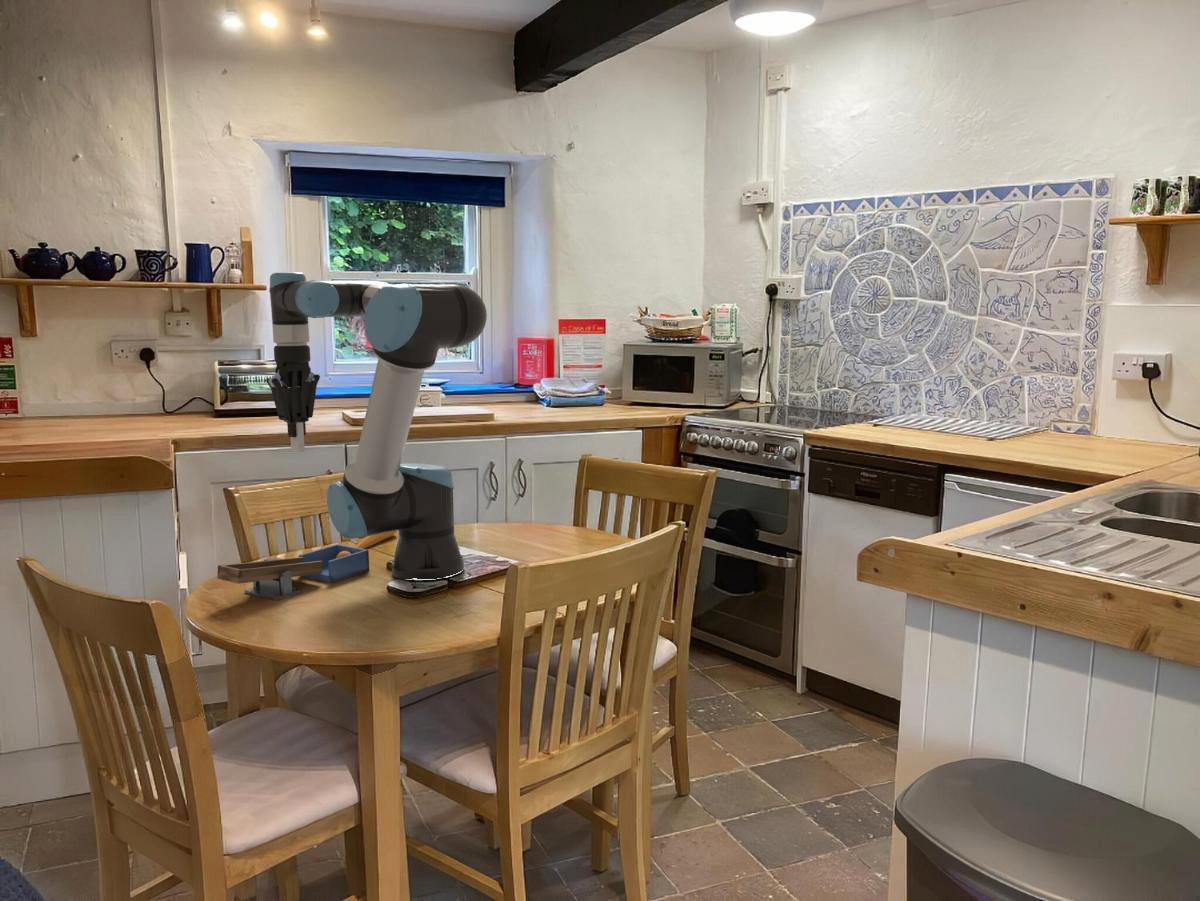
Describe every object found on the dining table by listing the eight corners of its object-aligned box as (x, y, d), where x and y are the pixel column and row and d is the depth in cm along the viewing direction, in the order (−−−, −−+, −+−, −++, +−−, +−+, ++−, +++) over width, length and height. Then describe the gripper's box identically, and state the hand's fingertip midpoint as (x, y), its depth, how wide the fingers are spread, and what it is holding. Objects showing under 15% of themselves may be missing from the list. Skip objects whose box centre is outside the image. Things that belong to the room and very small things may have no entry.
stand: (301, 592, 188) (299, 569, 187) (276, 600, 183) (274, 576, 182) (269, 585, 193) (268, 562, 192) (244, 592, 188) (242, 569, 187)
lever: (321, 573, 194) (322, 561, 194) (238, 583, 177) (239, 570, 177) (278, 563, 202) (278, 552, 201) (194, 572, 185) (194, 560, 185)
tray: (369, 570, 203) (368, 549, 203) (331, 582, 194) (330, 561, 194) (338, 563, 208) (337, 544, 208) (299, 575, 200) (298, 555, 199)
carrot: (387, 537, 235) (380, 520, 234) (402, 531, 233) (394, 515, 233) (344, 566, 216) (336, 549, 216) (360, 561, 215) (351, 543, 214)
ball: (343, 553, 201) (344, 569, 201) (356, 550, 204) (356, 566, 204) (332, 551, 203) (332, 567, 203) (344, 548, 206) (345, 564, 206)
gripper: (303, 342, 214) (309, 445, 217) (255, 345, 203) (262, 453, 207) (326, 343, 210) (332, 448, 213) (278, 346, 199) (285, 456, 203)
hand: (298, 451), depth 210 cm, fingers closed
